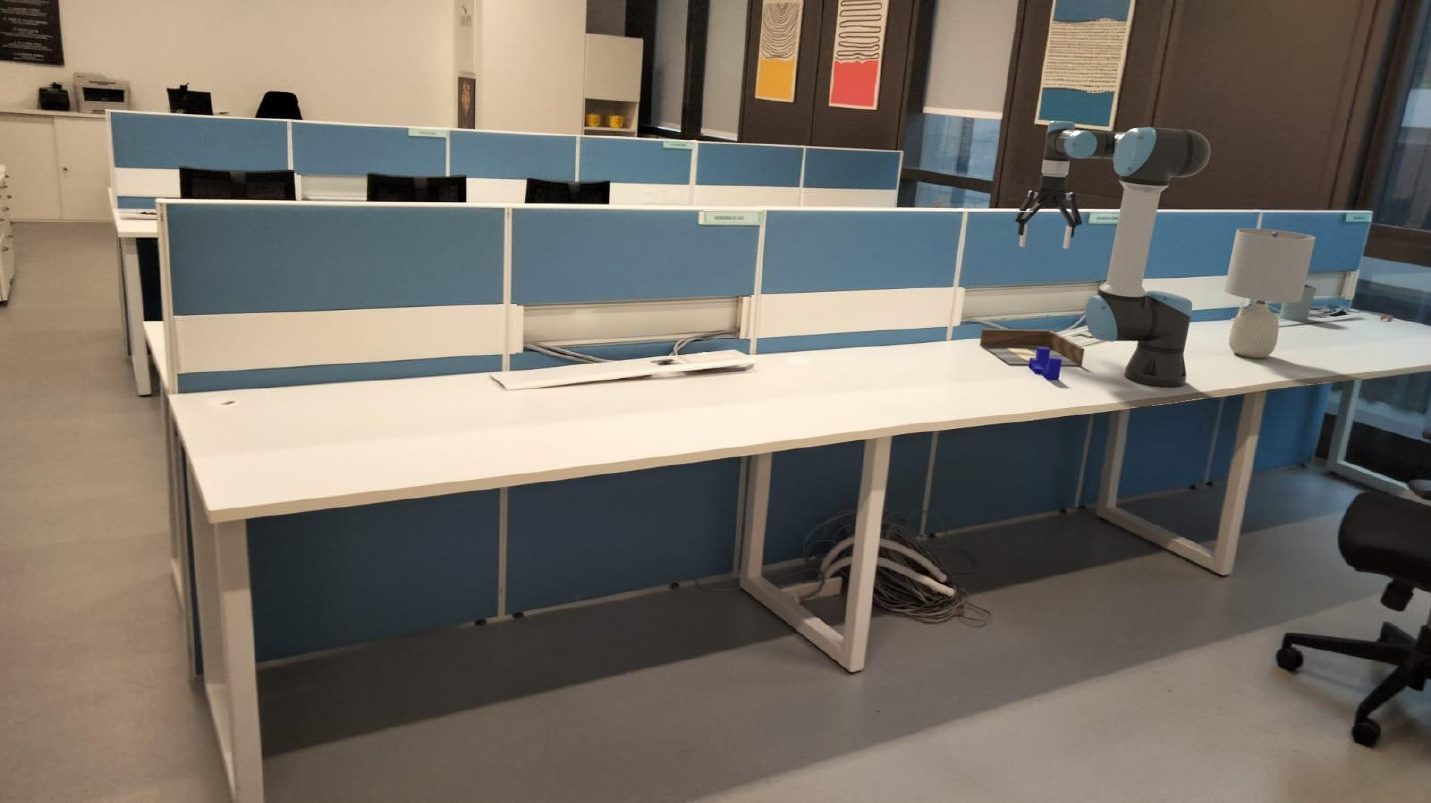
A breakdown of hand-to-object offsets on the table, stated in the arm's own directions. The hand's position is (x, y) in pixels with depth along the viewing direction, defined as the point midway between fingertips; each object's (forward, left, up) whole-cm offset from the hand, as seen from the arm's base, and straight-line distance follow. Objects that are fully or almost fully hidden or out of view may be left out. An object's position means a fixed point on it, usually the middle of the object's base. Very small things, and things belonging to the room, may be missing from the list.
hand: (1043, 247), depth 313 cm
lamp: (-20, -60, -27) cm, 69 cm away
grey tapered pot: (+32, -112, -27) cm, 120 cm away
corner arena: (-25, +12, -27) cm, 39 cm away
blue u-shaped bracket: (-43, +16, -28) cm, 53 cm away
